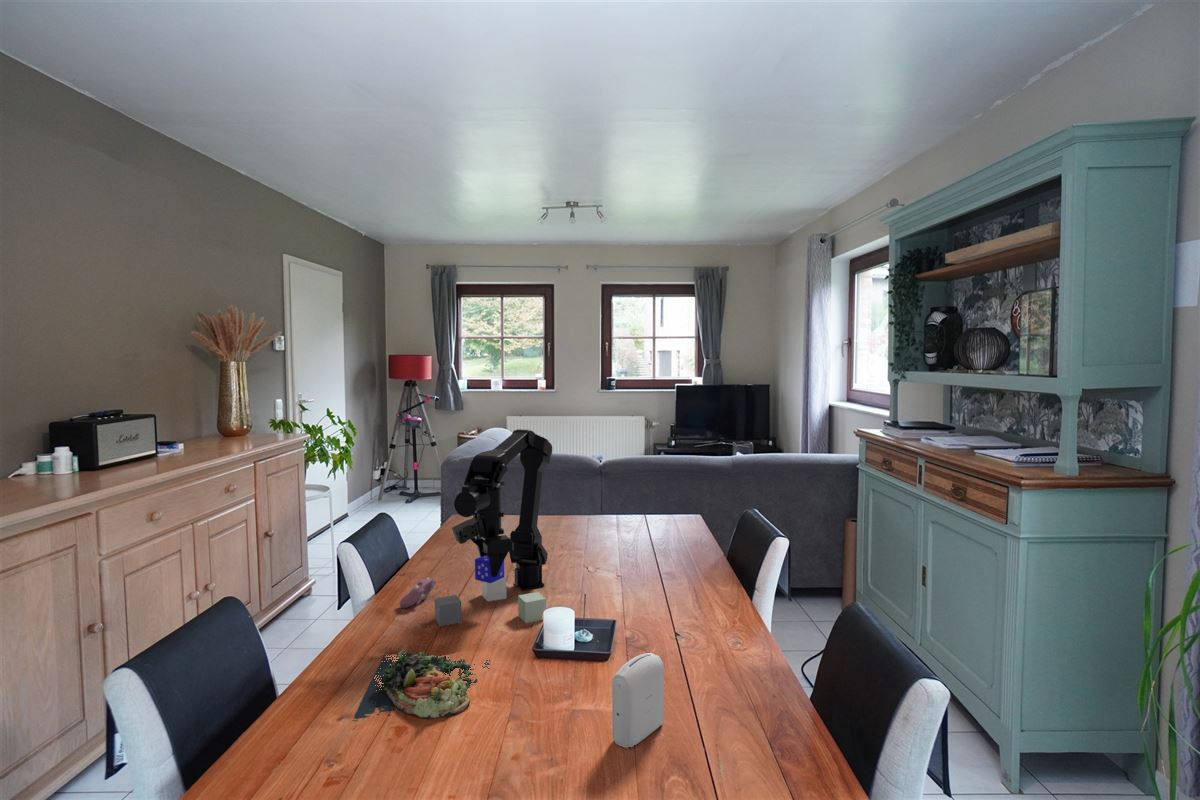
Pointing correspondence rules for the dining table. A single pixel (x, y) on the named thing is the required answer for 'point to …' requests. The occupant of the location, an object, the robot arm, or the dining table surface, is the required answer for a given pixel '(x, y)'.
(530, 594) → the sage green block
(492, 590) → the off-white block
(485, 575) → the die
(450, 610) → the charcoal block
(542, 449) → the robot arm
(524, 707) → the dining table surface
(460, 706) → the plated dish
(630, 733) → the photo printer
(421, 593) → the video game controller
